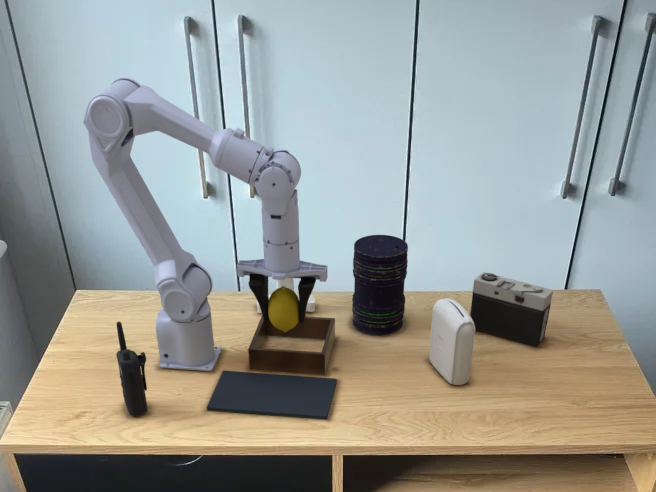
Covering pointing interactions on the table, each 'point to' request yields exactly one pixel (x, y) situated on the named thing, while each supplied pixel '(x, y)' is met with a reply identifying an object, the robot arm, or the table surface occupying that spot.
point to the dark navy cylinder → (379, 284)
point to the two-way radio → (132, 376)
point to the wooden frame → (292, 358)
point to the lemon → (284, 309)
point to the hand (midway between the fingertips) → (284, 318)
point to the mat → (273, 394)
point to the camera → (510, 308)
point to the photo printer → (452, 341)
